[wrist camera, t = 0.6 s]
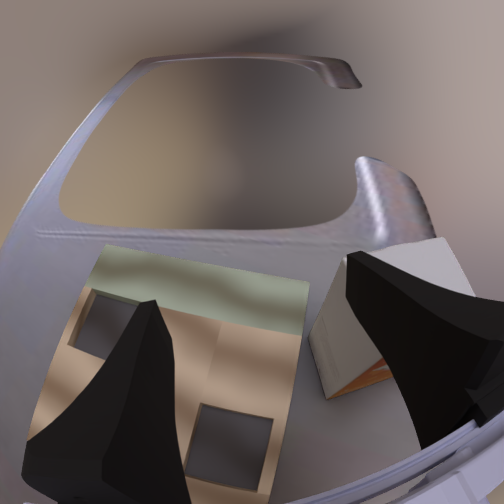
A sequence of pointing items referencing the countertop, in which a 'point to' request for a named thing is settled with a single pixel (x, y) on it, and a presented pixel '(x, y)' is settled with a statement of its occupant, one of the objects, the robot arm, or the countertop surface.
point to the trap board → (196, 361)
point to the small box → (350, 330)
